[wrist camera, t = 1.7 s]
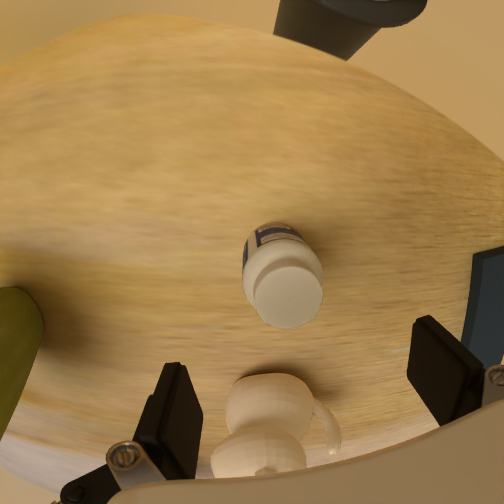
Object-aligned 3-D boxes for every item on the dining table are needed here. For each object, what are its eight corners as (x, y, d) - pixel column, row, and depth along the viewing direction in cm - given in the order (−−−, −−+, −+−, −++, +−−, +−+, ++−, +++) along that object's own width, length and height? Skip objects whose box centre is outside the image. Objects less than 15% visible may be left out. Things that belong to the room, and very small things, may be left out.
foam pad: (473, 254, 26) (483, 259, 25) (515, 242, 26) (526, 246, 24) (451, 376, 31) (458, 385, 29) (493, 357, 31) (500, 363, 29)
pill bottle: (278, 292, 27) (293, 354, 18) (230, 257, 26) (222, 307, 17) (317, 246, 26) (353, 290, 17) (269, 208, 25) (283, 233, 16)
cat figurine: (219, 357, 29) (204, 483, 15) (337, 361, 29) (383, 473, 15) (217, 415, 31) (207, 523, 17) (320, 417, 32) (346, 518, 17)
